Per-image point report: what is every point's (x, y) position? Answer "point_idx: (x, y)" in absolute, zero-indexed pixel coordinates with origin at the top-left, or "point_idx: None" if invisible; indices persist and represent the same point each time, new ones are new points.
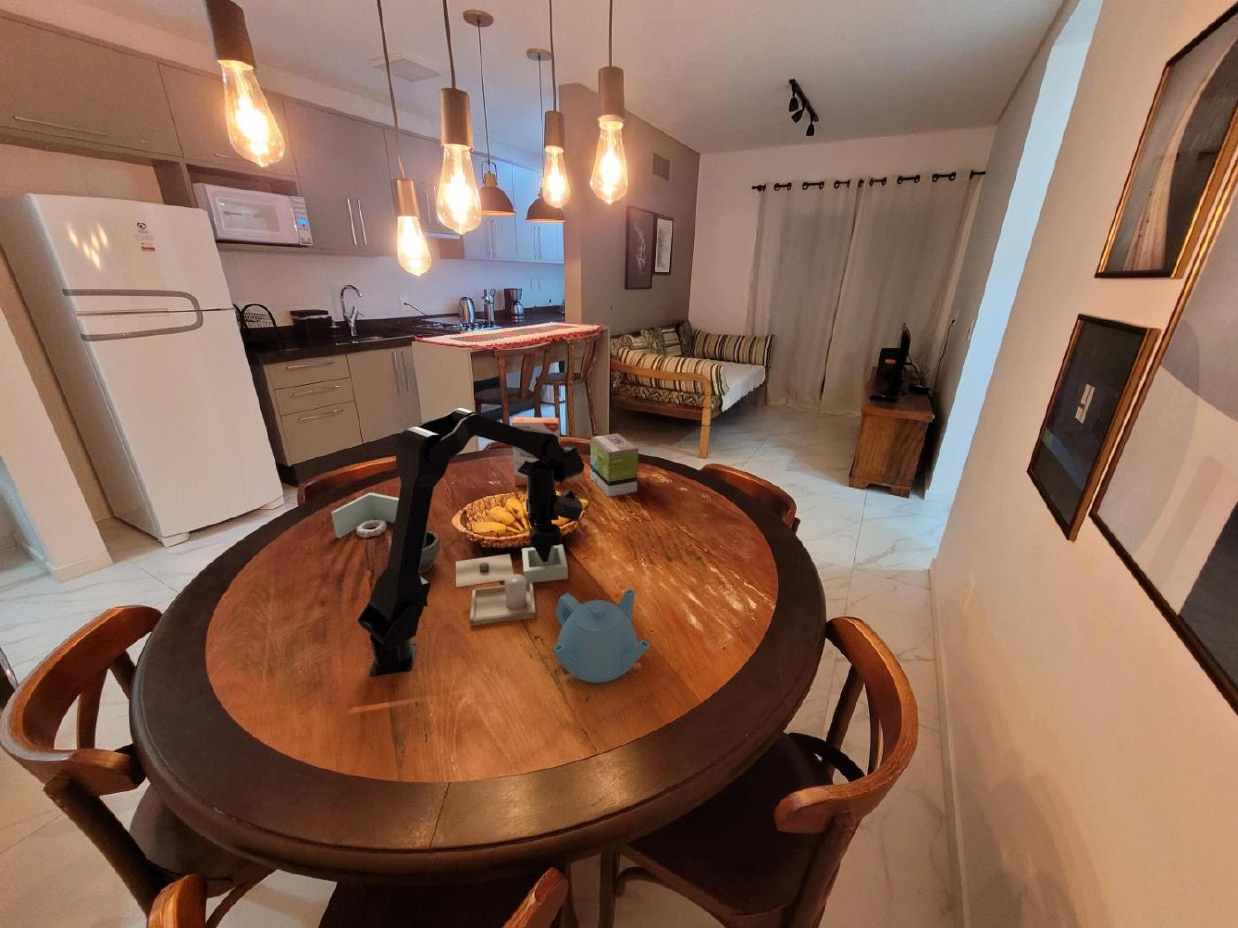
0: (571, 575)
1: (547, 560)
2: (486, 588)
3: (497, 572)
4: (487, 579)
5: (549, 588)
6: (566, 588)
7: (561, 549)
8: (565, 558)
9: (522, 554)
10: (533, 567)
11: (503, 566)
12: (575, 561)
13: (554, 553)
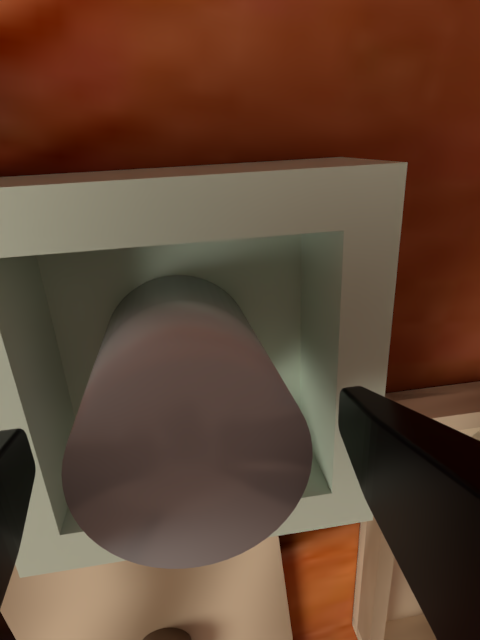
0: (276, 116)
1: (371, 393)
2: (383, 618)
3: (201, 588)
4: (263, 614)
5: (399, 295)
6: (434, 175)
7: (21, 214)
8: (238, 174)
9: (118, 557)
10: (337, 465)
11: (139, 574)
12: (41, 45)
13: (17, 279)
